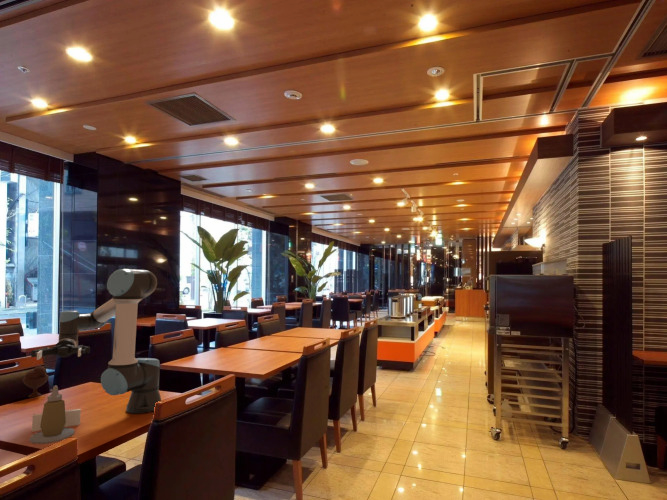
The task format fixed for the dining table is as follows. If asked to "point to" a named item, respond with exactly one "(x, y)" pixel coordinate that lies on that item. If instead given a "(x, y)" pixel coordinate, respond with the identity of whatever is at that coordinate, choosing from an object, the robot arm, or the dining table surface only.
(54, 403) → the squeeze bottle
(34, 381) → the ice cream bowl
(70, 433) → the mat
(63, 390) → the dining table surface
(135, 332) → the robot arm
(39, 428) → the beige rectangular block
